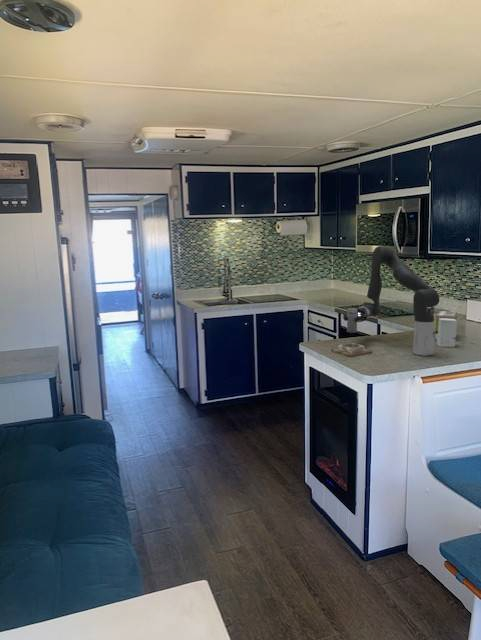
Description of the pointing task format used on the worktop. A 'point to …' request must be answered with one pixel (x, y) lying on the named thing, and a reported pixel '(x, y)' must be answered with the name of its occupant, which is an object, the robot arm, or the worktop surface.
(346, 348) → the mount board
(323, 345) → the worktop surface
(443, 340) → the skincare box
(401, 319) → the worktop surface
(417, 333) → the robot arm
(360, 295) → the worktop surface
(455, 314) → the tea box
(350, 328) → the dark grey cylinder
